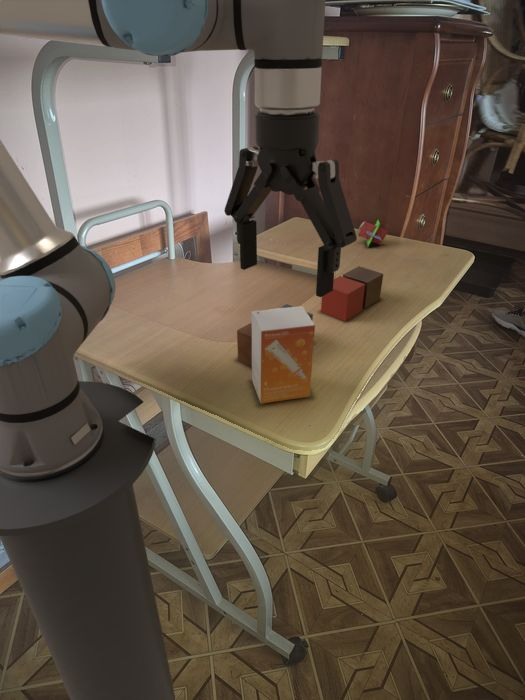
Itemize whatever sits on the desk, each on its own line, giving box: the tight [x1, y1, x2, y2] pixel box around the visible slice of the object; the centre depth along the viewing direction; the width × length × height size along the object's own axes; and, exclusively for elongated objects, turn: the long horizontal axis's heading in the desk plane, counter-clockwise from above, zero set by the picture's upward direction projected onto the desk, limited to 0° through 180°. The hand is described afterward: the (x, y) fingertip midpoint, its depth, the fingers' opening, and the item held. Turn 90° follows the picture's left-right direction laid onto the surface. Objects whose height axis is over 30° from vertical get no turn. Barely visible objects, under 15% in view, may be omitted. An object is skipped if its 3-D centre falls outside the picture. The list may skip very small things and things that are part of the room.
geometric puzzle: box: [357, 218, 389, 247], centre depth 132 cm, size 7×7×8 cm
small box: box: [251, 305, 316, 405], centre depth 76 cm, size 8×6×13 cm
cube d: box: [342, 265, 384, 310], centre depth 104 cm, size 6×6×6 cm
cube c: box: [320, 275, 365, 322], centre depth 100 cm, size 6×6×6 cm
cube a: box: [236, 322, 252, 368], centre depth 85 cm, size 6×6×6 cm
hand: (284, 279), depth 69 cm, fingers open, 13 cm apart
